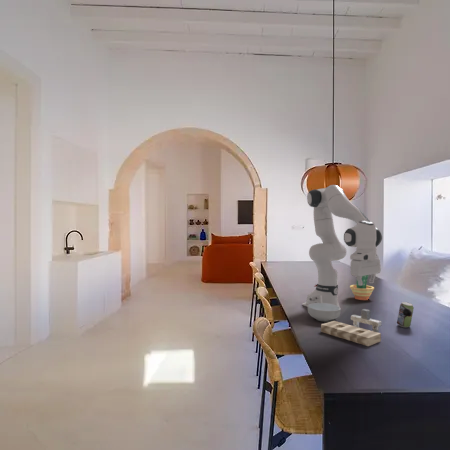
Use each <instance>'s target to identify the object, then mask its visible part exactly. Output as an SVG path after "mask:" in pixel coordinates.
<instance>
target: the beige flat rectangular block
mask: <svg viewBox="0 0 450 450" xmlns="http://www.w3.org/2000/svg"><path fill="white" fill-rule="evenodd" d="M320 332H321V333H324V334H327V335H330V336H333V337H336V338H340V339H344V340H347V341H349V342H353V343H356V344H358V345H363V346H366V347H370V346H373V345H376V344H378V343H380V342H382V333H381V332H379V333H378V332H374V331H372V330H369V329H365V328H362V327H360V326H359V327H355V326H353V325H350V324H349V323H348V324H347V323H344V322H339V321H336V320H331V321H329V322H324V323H321V325H320Z"/></svg>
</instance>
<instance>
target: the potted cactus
mask: <svg viewBox="0 0 450 450" xmlns="http://www.w3.org/2000/svg"><path fill="white" fill-rule="evenodd" d="M369 276H370V275H365V276H362V278H361V279H362V282H363V285H362V286H359V285H358V281H357V280H356V284H351V285H349V289H350V290H351V291H352V292H351V293H352V294H353V296H354V299H355V300H360V301H369V300H370V297H371V295H372V293H373V291H374V290H375V287H374V286H372V285H368V280H369ZM368 299H369V300H368Z"/></svg>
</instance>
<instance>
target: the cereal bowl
mask: <svg viewBox="0 0 450 450" xmlns="http://www.w3.org/2000/svg"><path fill="white" fill-rule="evenodd" d="M341 311H342V309H341V307H340V305H339V306H336V305H333V304H327V303H312V304H309V305H308V307H307V312H308V315H309V316H311V318H314V319H316V321H319V322H324V323H328V322H331V321H335V320H336V319H338V318H339V317H340V315H341Z"/></svg>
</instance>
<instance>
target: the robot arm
mask: <svg viewBox="0 0 450 450" xmlns="http://www.w3.org/2000/svg"><path fill="white" fill-rule="evenodd" d="M306 201H307V204H308V206H309V207H311V208H313V223H314V224H313V225H314V231H315V234H316V236H318V238H319V239H320V240H321V241H322V243H320V242H319V243H316V244H312V246H310V248H309V250H308V255H309V257H310V259H311V260H312V261H313V262H314V264H315V267H316V270H317V281H318V282H317V283H316V284H315V285H314V286H313V287H314V288H315V289H314V290H313V291H311V292H310V293H309V294H308V295H307V296H306V301H304V302H302V306H304V307H307V308H308V305H309V304H312V303H327V304H333V305H336V306H339V307H340V303H339V297H338V295H339V284H338V271H337V270H336V269H335V268H334V266H333V264H332V262H334V261H335V262H336V261H340V260H343V259H344V258H345V257H346V255H347V247H346V246H348V247H349V248H350V247H351V248H356V249H355V250H356V251H355V252H353V253H352V254H350V257H349V259H350V260H351V261H350V275H351V276H352V277H355V278H356V282H357V281H358V285H359V286H362V285H363V282H362V279H361V278H362V276H365V275H369V276H370V278H368V283H369V284H374V283H375V279H376V275H377V274H380V273H381V269H382V268H381V259H379V255H378V254H377V247H378V246H379V245H380V244H381V242H382V240H383V236H382V232H381V231H380V230H379V229H378V228H377V227H376V224H375V223H374V222H373V221H370V219H369V218H368V217H367V215H366V214H365V213H364V212H363V211H362V210H361V209H360V208H359V207H358V206H356V205H355V204H353V203H352V202H351V201H350V199H349V198H348V197H347V195H346V193H345V191H344V190H343V188H341V187H340V186H339V185H336V184H330V185H329V186H327V187H325V188H323V187H322V188H318V189H316V188H315V189H311V190H309V191H308V192H307V194H306ZM333 216H335V217H338V218H343V219H348V220H351V221H353V222H354V223H355V224H356V225H354V226H352V227H350V228H347V229H346V230H345V231H344V233H343V241H344V243H345V245H346V246H345V245H344V244H343V243H342V242H341V241H340V239H339V238H338V235H337V234H336V233H337V232H336V230H335V225H334V219H333V218H334V217H333Z"/></svg>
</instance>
